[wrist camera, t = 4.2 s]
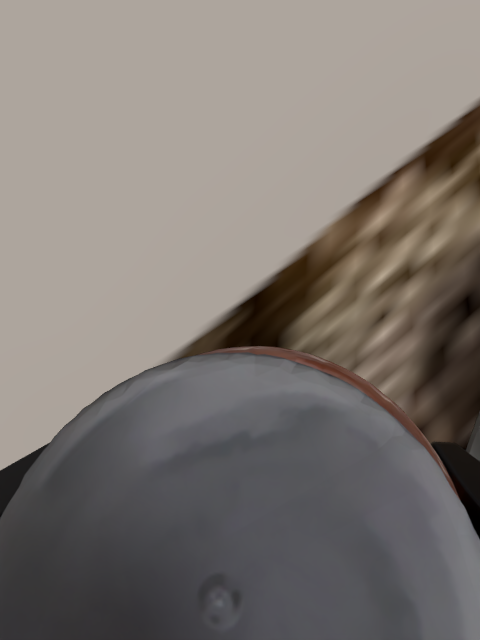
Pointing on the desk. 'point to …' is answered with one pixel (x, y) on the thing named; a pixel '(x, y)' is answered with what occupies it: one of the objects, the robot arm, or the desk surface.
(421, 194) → the desk surface
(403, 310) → the desk surface
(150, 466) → the supplement bottle
